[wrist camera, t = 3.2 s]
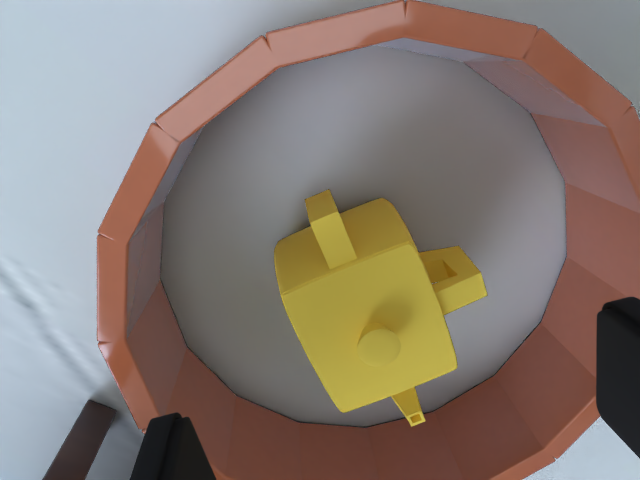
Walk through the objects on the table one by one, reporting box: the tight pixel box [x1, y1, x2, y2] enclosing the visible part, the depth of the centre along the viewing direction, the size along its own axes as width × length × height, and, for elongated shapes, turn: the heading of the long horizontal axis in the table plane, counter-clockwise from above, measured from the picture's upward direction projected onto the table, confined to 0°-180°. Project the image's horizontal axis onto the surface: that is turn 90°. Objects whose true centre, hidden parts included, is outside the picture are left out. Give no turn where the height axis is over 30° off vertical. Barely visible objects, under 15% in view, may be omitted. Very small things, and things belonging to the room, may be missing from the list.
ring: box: [97, 0, 640, 480], centre depth 15 cm, size 17×17×4 cm
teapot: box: [274, 189, 487, 427], centre depth 15 cm, size 8×6×5 cm
